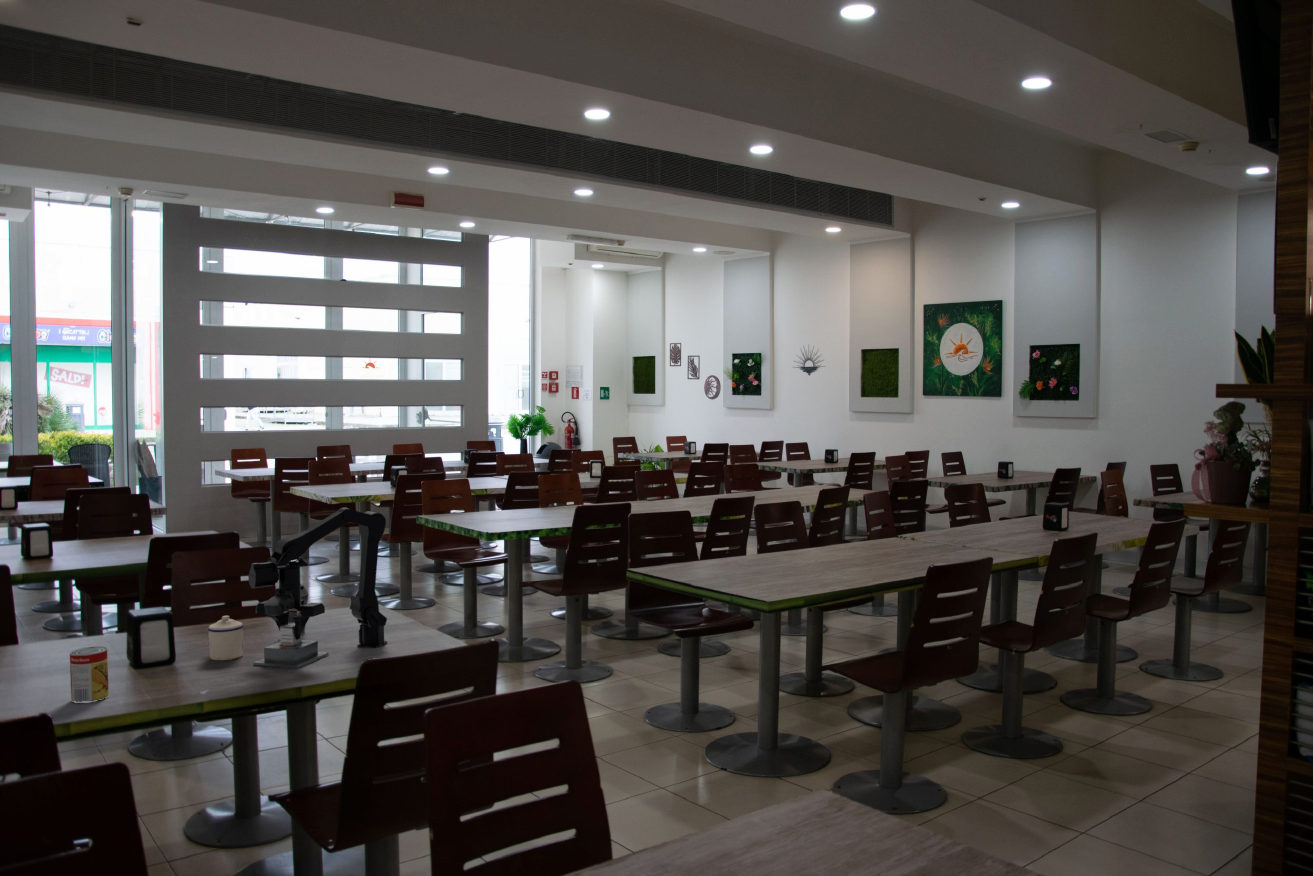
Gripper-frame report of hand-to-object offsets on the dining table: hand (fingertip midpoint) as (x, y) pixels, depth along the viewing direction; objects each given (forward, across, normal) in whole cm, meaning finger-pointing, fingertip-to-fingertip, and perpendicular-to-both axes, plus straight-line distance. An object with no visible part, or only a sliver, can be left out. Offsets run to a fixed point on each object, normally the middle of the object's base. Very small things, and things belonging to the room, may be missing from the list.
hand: (291, 638), depth 263 cm
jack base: (+6, 0, 0) cm, 6 cm away
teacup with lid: (+6, -22, -1) cm, 23 cm away
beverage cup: (+6, -19, +28) cm, 34 cm away
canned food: (+6, -26, -42) cm, 50 cm away
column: (+6, 0, 0) cm, 6 cm away
